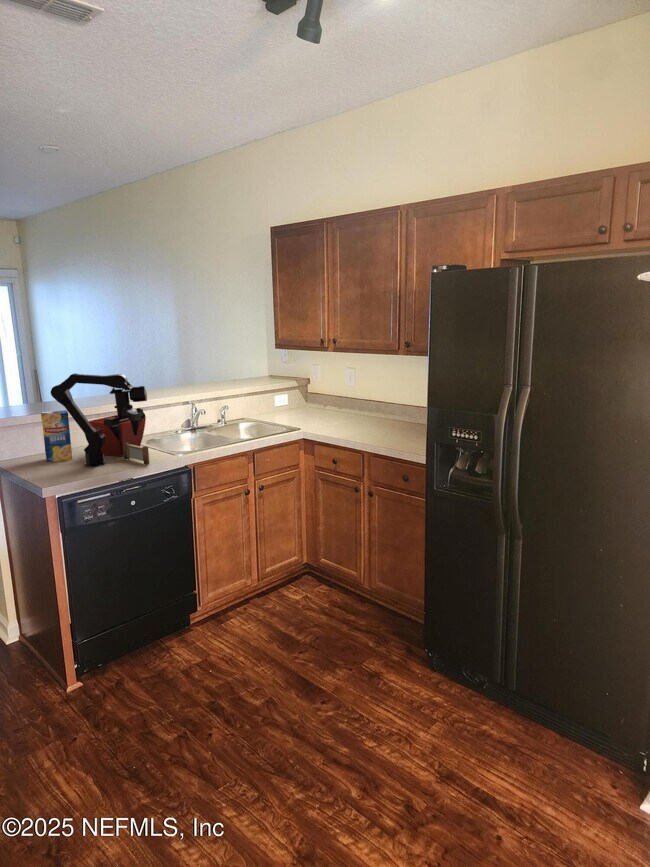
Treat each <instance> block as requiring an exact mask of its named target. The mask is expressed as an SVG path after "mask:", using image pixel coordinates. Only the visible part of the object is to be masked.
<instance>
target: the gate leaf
mask: <svg viewBox="0 0 650 867" xmlns="http://www.w3.org/2000/svg"><path fill="white" fill-rule="evenodd" d="M126 450H127V458H130V459H133V460H136V461H141V462H144V460H143V446H141V445H140V446H136V445H132V444H127V445H126Z"/></svg>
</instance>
